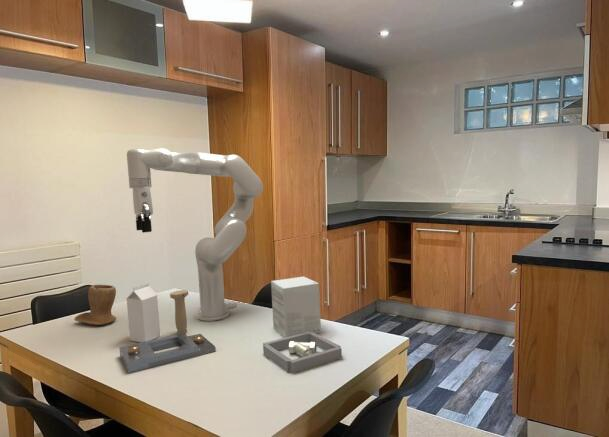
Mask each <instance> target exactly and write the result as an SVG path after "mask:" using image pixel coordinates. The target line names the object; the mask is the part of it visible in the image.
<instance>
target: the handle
mask: <svg viewBox="0 0 609 437" xmlns="http://www.w3.org/2000/svg"><path fill="white" fill-rule="evenodd" d="M188 295H189V290H186V289H182V290H181V289H180V290H176V291H173V292H170V293H169V297H170V298H171V299H173V300H174V321H175V327H176V328H175V329H176V333H177V334H181V333H185V334H187V331H188V329H187V327H188V318H187V310H186V302H185V298H186V297H187V296H188ZM177 334H176V335H177Z"/></svg>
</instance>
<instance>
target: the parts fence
mask: <svg viewBox="0 0 609 437" xmlns="http://www.w3.org/2000/svg"><path fill="white" fill-rule="evenodd" d="M290 341H295V342H316V344H317V348H318V349H321V351H319V352H316V353H315V354H312V355H308V356H305V357H301V356H300V357H299V358H295V359H291V358H290V357H288V356H286V355H285V354H284V353H282V352H280V351H282V350H283V351H284V350H286V349H289V343H290ZM262 349H263V350H262V351H263V356H265V357H266V358H267V359H269V360H270V361H272V362H273V363H274V364H275V365H277V366H279V367H280V368H282V370H284V371H286V372H287V373H289V372H290V373H291V374H295V373H299V372H302V371H304V370H308V369H311V368H312V369H313V368H314V367H318V366H322V365H324V364H328V363H331V362H335V361H338V360H341V359H343V356H342V348H341V345H339V344H337V343H336V342H333V341H331V340H330V339H328V338H325V337H323V336H322V335H319V333H314V332H312V333H311V332H305V333H301V334H297V335H293V336H289V337H285V338H284V337H282V338H279V339H278V338H277V339H275V340H271V341H266V342H263V343H262ZM322 350H323V351H322Z"/></svg>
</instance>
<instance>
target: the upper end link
mask: <svg viewBox="0 0 609 437" xmlns="http://www.w3.org/2000/svg"><path fill="white" fill-rule="evenodd" d="M188 336H189V335H187V333H181V334H174V335H168V336H164V337H158V338H155V339H153V340H150V341H145V342H137V343H132V344H128V345H123V346H119V348H118V349H119V357H120V359H121V361H122V364H123V365H124V367H125V369H126V371H127V373H128V374H131V373H136V372H139V371H143V370H146V369H150V368H149V366H148V363H151V362H155V361H160V360H164V359H168V358H172V357H176V356H180V355H184V354H188V353H192V352H196V351H198V346H197V345H196V344H195V343H194V342H193V341H192V340H191V339H190V338H189V337H188ZM177 341H180V342H181V343H182V344H183V346H184V347H181V346H179V347H176V348H172V349H168V350H164V351H160V352H156V353H155V351H153V350H152V349H151V347H155V346H160V345H164V344H168V343H173V342H177Z"/></svg>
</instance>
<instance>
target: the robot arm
mask: <svg viewBox="0 0 609 437" xmlns="http://www.w3.org/2000/svg"><path fill="white" fill-rule="evenodd" d="M126 160H127V161H126V162H127V163H126V164H127V173H128V185H129V189H132V200H133V201H132V202H133V211H134V215H135V219H136V220H135V227H136V231H141V232H142V233H151V232H152V221H151V220H152V219H151V215H153V214H154V210H153V209H154V207H153V200H152V192H151V189H150V188H152V175H151V174H152V173H151V169H152V170H155V171H162V172H174V173H184V174H185V173H186V174H189V175H200V176H212V177H213V176H214V177H223V178H232V179H233V181H234V183H233V187H232V189H233V190H232V191H233V193H234V194H233V196H234V198H233V199H234V201H233V203H232V205H231V206H230V207H229V209H228V210H227V211H226V212H225V214H224V215H223V216H222V217H221V218H220V219H219V221H218V222H217V223H216V225H215V226H214V233H215V237H209V236H208V237H203V238H202V239H200V240H198V241H197V243H196V244H195V245H196V246H195V251H194V253H195V258H196V259H195V260H196V264H197V273H198V275H197V276H198V290H199V303H200V306H199V307H200V312H198V313H197V315H196V318H197V319H198V320H199V321H204V322H214V321H219V320H220V321H221V320H224V319H226V318H227V317H229V316H230V310H233V309H237V307H238V306H237V305H238V304H237V303H236V302H235V303H226V299H225V286H224V285H225V284H224V271H223V270H224V269H223V265H222V264H224V263H225V262H226V261H228V259H230V257H231V256H232V255H233V254H234V253H235V251H236V250H237V249H238V248H239V247H240V246H241V244H242V243H243V241H244V240H245V238H246V235H247V232H248V231H247V225H246V223H247V221H248V220H249V218H250V217H251V216H252V213H253V211H254V205H255V204H254V202H255V201H254V199H255V198H258V197H259V196H261V195H262V193H263V191H264V185H263V181H262V180H261V178H260V177H259V176H258V175H257V174H256V172H255V171H254V170H253V169H252V167H250V165H249V164H248V163H247V162H246V161H245V160H244V159H243V157H241V156H240V155H238V154H228V155H227V154H226V155H224V154H216V153H209V152H202V151H193V152H192V151H191V152H173V151H170V150H168V149H166V148H163V147H159V148H150V149H145V148H144V149H143V148H132V149H129V150H127V152H126Z"/></svg>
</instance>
